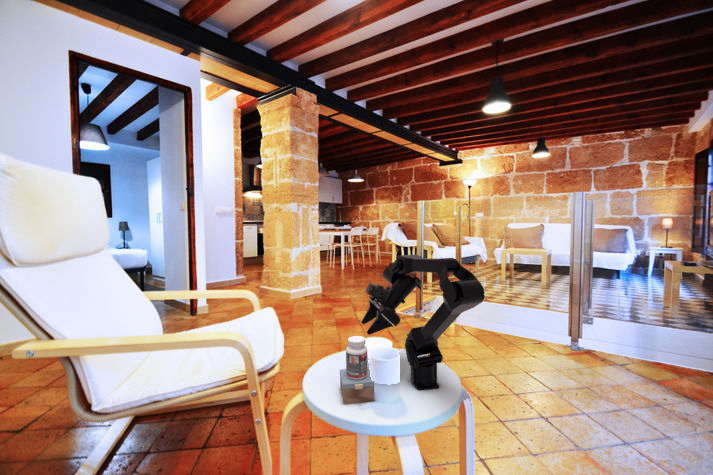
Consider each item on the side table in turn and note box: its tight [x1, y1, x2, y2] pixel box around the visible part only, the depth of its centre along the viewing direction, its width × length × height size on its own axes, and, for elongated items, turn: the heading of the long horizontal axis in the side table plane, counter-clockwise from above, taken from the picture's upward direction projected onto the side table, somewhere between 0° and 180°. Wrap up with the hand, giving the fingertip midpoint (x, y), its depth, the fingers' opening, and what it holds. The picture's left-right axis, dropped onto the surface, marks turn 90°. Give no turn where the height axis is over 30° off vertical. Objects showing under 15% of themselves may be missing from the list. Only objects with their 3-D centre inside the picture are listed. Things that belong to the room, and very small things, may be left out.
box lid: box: [339, 366, 375, 389], centre depth 81 cm, size 8×8×1 cm
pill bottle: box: [345, 335, 368, 380], centre depth 81 cm, size 6×6×10 cm
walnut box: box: [339, 376, 375, 405], centre depth 81 cm, size 8×8×4 cm
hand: (364, 328), depth 93 cm, fingers open, 9 cm apart
